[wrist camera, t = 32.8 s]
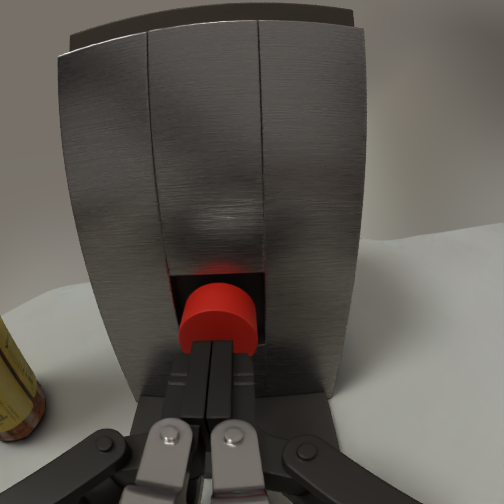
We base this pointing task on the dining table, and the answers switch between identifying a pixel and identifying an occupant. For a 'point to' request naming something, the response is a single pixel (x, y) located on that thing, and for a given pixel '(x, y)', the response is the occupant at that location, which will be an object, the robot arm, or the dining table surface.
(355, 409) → the dining table surface
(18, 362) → the sauce bottle
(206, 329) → the power button
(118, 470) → the robot arm
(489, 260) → the dining table surface
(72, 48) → the coffee maker
